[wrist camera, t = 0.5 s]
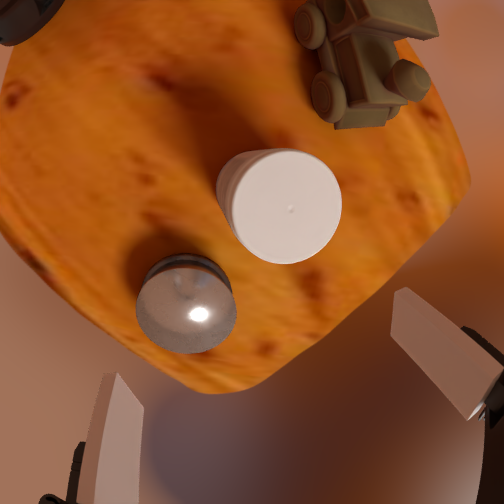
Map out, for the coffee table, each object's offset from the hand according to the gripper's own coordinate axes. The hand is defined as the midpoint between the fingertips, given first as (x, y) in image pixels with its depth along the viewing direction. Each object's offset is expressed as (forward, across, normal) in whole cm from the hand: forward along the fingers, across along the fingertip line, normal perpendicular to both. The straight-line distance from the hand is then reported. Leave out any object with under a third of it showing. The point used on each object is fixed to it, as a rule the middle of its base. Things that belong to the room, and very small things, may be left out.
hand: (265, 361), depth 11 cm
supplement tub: (+26, +5, +3) cm, 27 cm away
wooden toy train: (+26, +21, +19) cm, 38 cm away
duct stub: (+26, -7, -10) cm, 28 cm away
